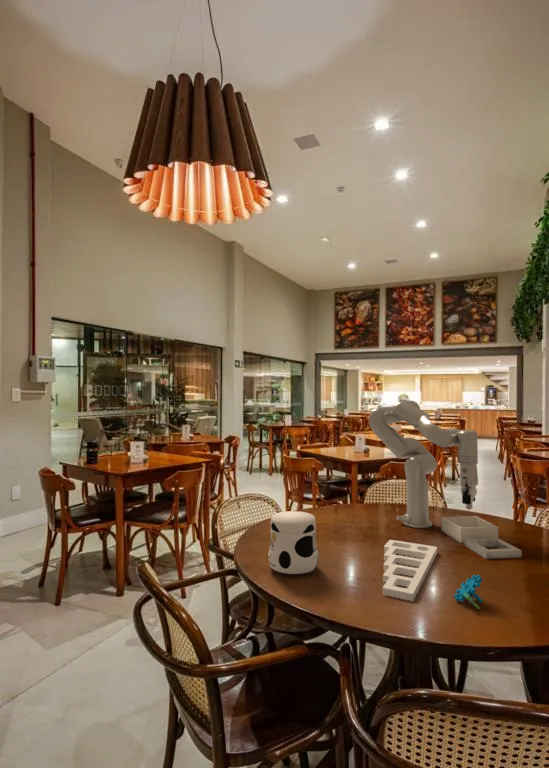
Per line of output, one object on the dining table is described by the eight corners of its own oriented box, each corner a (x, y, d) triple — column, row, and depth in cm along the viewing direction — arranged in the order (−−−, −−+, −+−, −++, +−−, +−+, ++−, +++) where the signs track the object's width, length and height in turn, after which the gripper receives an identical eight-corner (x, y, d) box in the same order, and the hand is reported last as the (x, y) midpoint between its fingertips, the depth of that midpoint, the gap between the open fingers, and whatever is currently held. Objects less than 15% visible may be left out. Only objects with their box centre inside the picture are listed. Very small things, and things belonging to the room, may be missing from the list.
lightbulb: (480, 510, 187) (480, 483, 187) (470, 512, 184) (469, 485, 184) (468, 506, 192) (467, 481, 193) (457, 508, 190) (457, 482, 190)
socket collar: (485, 558, 162) (485, 552, 162) (465, 545, 176) (465, 539, 176) (521, 557, 164) (521, 550, 164) (498, 544, 178) (498, 538, 178)
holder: (413, 603, 130) (412, 593, 130) (353, 590, 138) (353, 581, 138) (437, 554, 169) (437, 546, 169) (389, 546, 178) (389, 539, 178)
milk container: (260, 564, 158) (260, 513, 158) (304, 557, 165) (304, 508, 165) (280, 583, 142) (280, 526, 142) (328, 574, 149) (327, 520, 149)
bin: (461, 543, 179) (460, 528, 179) (441, 531, 195) (441, 517, 195) (498, 541, 181) (498, 526, 181) (476, 529, 197) (476, 516, 197)
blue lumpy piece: (454, 585, 136) (479, 567, 133) (469, 601, 135) (495, 583, 131) (450, 605, 127) (477, 586, 123) (466, 622, 125) (494, 604, 121)
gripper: (471, 462, 180) (472, 507, 179) (482, 457, 193) (483, 499, 193) (452, 461, 184) (453, 505, 184) (464, 456, 198) (465, 497, 197)
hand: (468, 501), depth 188 cm, fingers closed on lightbulb, 6 cm apart
